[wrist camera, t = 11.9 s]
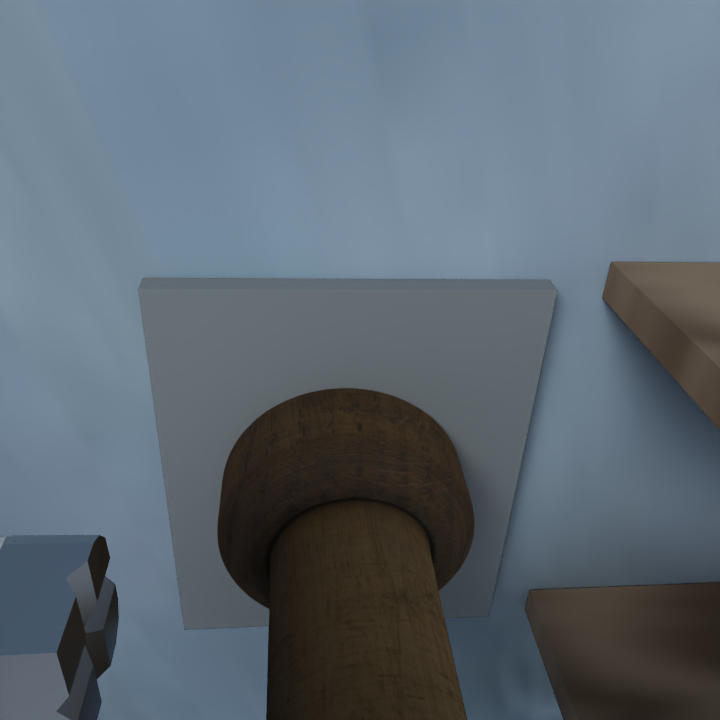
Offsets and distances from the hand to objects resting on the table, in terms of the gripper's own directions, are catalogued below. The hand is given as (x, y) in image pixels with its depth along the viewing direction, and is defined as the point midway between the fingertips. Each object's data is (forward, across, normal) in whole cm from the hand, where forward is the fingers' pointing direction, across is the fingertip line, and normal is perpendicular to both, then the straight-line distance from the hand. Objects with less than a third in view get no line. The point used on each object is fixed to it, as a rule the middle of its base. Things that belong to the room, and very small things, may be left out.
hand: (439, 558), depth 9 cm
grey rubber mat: (+9, 0, +6) cm, 11 cm away
